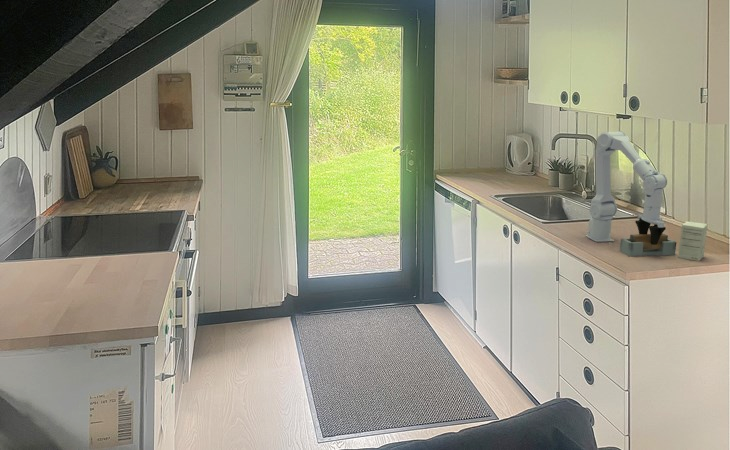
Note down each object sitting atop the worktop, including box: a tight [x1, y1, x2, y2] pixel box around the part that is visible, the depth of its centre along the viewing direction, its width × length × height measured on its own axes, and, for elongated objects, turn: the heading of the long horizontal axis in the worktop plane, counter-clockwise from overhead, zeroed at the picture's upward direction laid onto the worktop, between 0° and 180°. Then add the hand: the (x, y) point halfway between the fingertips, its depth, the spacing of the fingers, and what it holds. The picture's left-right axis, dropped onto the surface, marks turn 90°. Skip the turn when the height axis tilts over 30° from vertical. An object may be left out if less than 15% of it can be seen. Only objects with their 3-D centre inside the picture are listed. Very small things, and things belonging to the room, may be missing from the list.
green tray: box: [619, 237, 677, 257], centre depth 231 cm, size 7×18×5 cm, turn 96°
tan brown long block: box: [629, 233, 669, 249], centre depth 231 cm, size 3×13×5 cm, turn 96°
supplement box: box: [678, 221, 709, 262], centre depth 225 cm, size 7×7×13 cm
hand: (648, 241), depth 231 cm, fingers open, 7 cm apart
